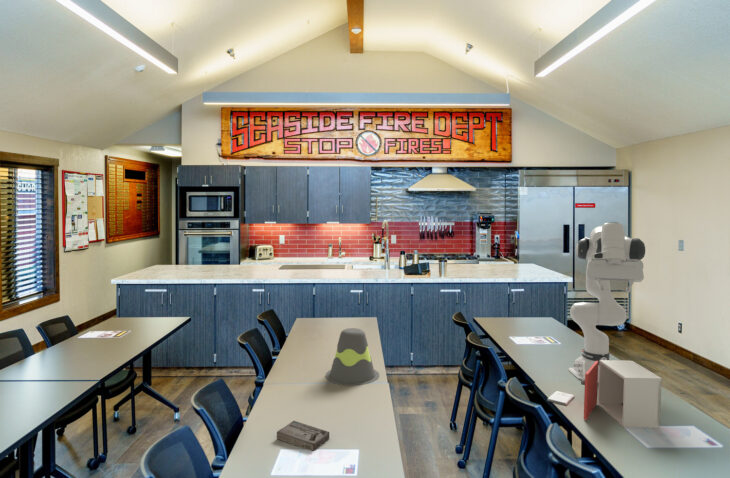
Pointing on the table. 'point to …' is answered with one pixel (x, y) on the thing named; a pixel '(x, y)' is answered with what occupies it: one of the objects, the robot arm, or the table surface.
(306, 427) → the box
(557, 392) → the external hard drive
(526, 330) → the table surface
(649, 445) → the table surface
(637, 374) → the cabinet
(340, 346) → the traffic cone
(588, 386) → the door
